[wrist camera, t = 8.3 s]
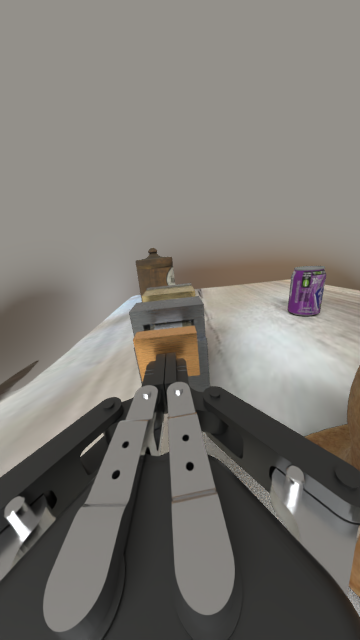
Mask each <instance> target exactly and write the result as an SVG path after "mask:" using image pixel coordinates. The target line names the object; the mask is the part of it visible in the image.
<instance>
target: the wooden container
mask: <svg viewBox="0 0 360 640" xmlns="http://www.w3.org/2000/svg"><path fill="white" fill-rule="evenodd" d="M148 252H149V253H150V255H149V256H148V257H147V258H146V259H143V260H137V261H136V266H137V273H138V280H139V287H140V293H141V298H142V295H143V294H144V293H145V292H146V289H147V288H152V287H161V286H170V285H175V280H174V273H173V266H172V257H160V256H158V254H157V250H156V249H154V248H151V249H150V250H149V251H148ZM142 302H143V301H142Z"/></svg>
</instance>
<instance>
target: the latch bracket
mask: <svg viewBox="0 0 360 640" xmlns="http://www.w3.org/2000/svg"><path fill="white" fill-rule="evenodd" d="M142 301H143V302H142V303H136V304H135V305H134V307H133V308H132V309H131V310H130V312H129V315H130V319H131V324H132V329H133V333H134V337H135V335H136V333H137V332H141V331H150V330H154V328H155V324H156V323H165V322H174V321H182V327H186V326H195V329H196V332H197V343H198V356H199V369H200V375H196V376H188V380H189V385H190V387H191V388H192V389H193V390H195V391H199V392H204V390H205V389H207V388H209V387H210V383H209V365H208V348H207V339H206V336H205V320H204V304H203V302H202V301H201V299H200V298H199V296H196V297H195V290H194V289H193V287H192V286H191V284H190V283H188V284H180V285H170V286H161V287H152V288H147V289H146V292H145V293H144V294H143V295H142ZM134 351H135V347H134ZM135 355H136V351H135ZM136 360H137V355H136ZM137 364H138V360H137ZM138 369H139V365H138ZM139 374H140V369H139ZM140 378H141V374H140ZM141 383H143V381H142V378H141Z"/></svg>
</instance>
